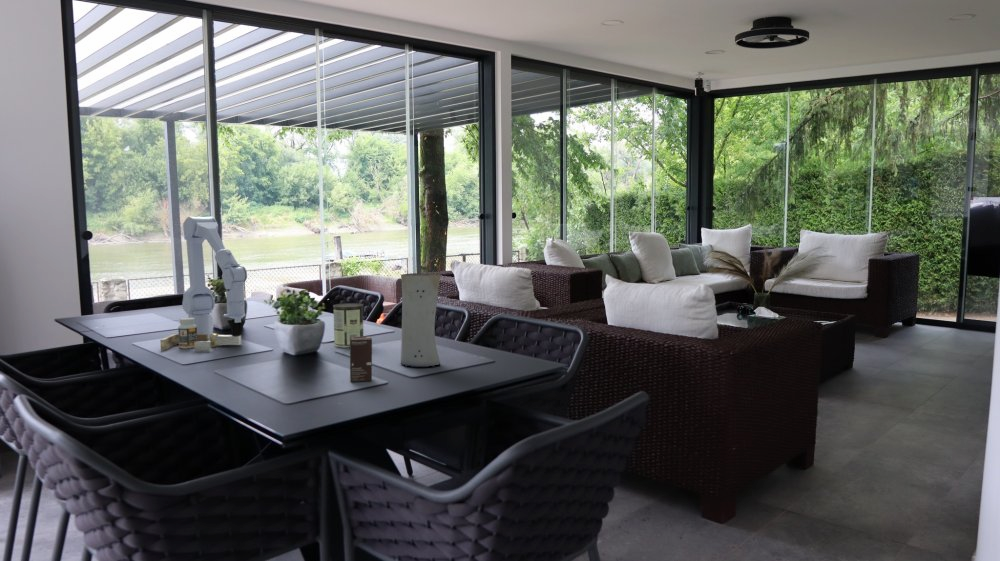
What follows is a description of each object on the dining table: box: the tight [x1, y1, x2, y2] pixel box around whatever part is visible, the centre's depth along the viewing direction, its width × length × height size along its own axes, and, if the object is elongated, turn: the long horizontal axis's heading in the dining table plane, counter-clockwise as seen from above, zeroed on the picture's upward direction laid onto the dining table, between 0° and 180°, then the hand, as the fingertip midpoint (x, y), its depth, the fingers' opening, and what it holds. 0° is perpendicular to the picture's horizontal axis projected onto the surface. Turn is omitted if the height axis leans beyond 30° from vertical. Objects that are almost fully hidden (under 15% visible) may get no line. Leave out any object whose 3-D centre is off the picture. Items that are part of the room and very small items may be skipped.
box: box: [349, 336, 373, 383], centre depth 202 cm, size 6×4×12 cm
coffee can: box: [332, 302, 364, 349], centre depth 253 cm, size 10×10×14 cm
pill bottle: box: [177, 317, 197, 350], centre depth 247 cm, size 6×6×10 cm
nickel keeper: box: [194, 340, 212, 353], centre depth 242 cm, size 4×5×3 cm
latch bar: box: [208, 333, 242, 346], centre depth 251 cm, size 10×3×3 cm, turn 88°
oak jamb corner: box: [160, 333, 209, 351], centre depth 248 cm, size 11×12×4 cm
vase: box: [400, 272, 442, 368], centre depth 223 cm, size 13×14×28 cm
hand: (236, 340), depth 253 cm, fingers closed, pressing on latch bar
